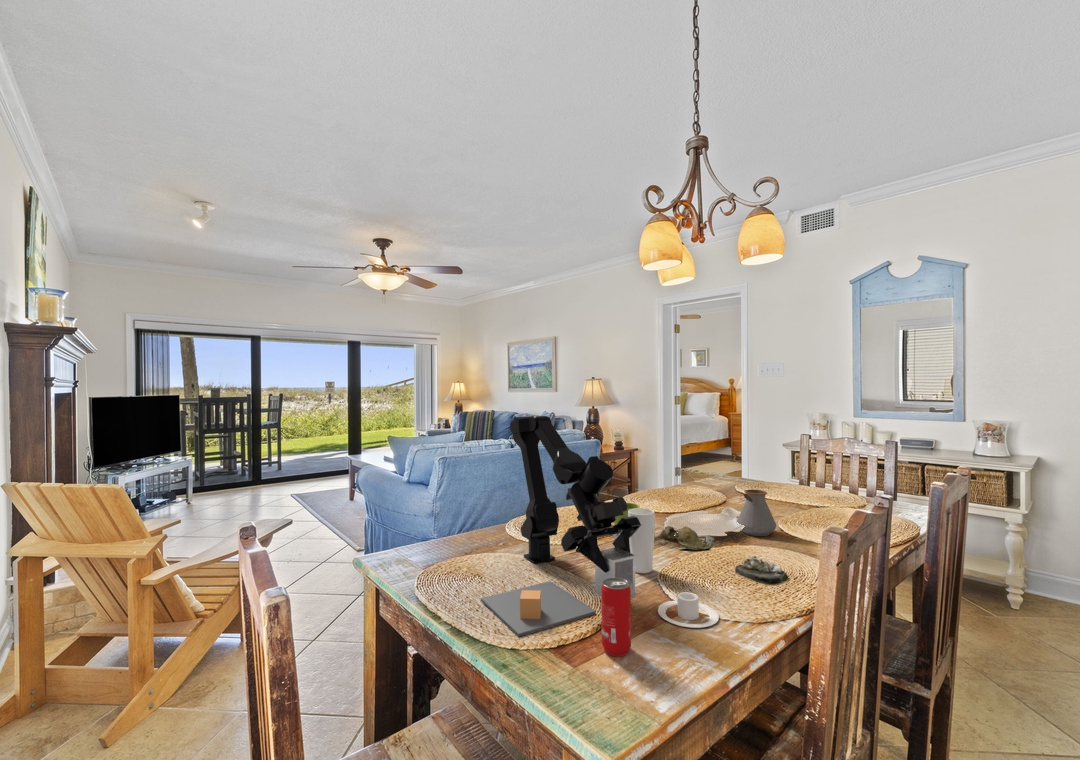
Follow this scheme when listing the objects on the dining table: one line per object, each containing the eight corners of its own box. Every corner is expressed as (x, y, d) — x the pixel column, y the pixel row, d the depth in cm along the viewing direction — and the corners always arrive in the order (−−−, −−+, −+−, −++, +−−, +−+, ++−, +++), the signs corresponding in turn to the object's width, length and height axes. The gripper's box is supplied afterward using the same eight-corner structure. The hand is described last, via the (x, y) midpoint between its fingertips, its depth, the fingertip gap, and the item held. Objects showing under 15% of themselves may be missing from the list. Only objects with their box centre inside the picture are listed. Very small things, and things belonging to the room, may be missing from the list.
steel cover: (595, 593, 108) (595, 551, 108) (617, 587, 111) (617, 547, 111) (612, 604, 103) (612, 560, 103) (635, 597, 106) (634, 555, 106)
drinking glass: (656, 576, 122) (655, 515, 122) (628, 574, 124) (627, 514, 124) (655, 566, 129) (654, 508, 129) (628, 564, 130) (628, 507, 130)
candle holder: (652, 603, 108) (652, 583, 108) (708, 603, 108) (708, 583, 108) (664, 631, 96) (664, 608, 96) (727, 631, 96) (727, 609, 96)
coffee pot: (741, 525, 164) (740, 479, 164) (779, 530, 158) (779, 483, 158) (724, 542, 147) (723, 492, 147) (766, 550, 140) (765, 496, 140)
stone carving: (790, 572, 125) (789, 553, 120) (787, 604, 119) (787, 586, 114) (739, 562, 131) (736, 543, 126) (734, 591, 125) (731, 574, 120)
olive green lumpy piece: (730, 551, 141) (730, 532, 141) (670, 554, 139) (670, 535, 139) (700, 532, 159) (700, 515, 159) (646, 535, 156) (646, 518, 156)
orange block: (521, 609, 104) (521, 590, 104) (541, 609, 104) (540, 590, 104) (520, 618, 100) (520, 598, 100) (540, 618, 100) (539, 598, 100)
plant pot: (604, 534, 156) (604, 507, 156) (618, 527, 163) (617, 500, 163) (632, 540, 150) (632, 511, 150) (644, 532, 158) (644, 504, 158)
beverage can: (599, 642, 92) (598, 577, 92) (626, 641, 92) (626, 576, 92) (605, 658, 86) (604, 589, 86) (634, 657, 87) (633, 588, 87)
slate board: (480, 600, 110) (480, 598, 110) (550, 583, 119) (550, 581, 119) (518, 637, 94) (518, 633, 94) (595, 613, 103) (595, 611, 103)
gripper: (567, 490, 106) (599, 558, 96) (635, 480, 115) (670, 542, 105) (549, 518, 112) (576, 584, 103) (614, 507, 122) (645, 567, 112)
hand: (618, 568), depth 106 cm, fingers closed on steel cover, 6 cm apart
